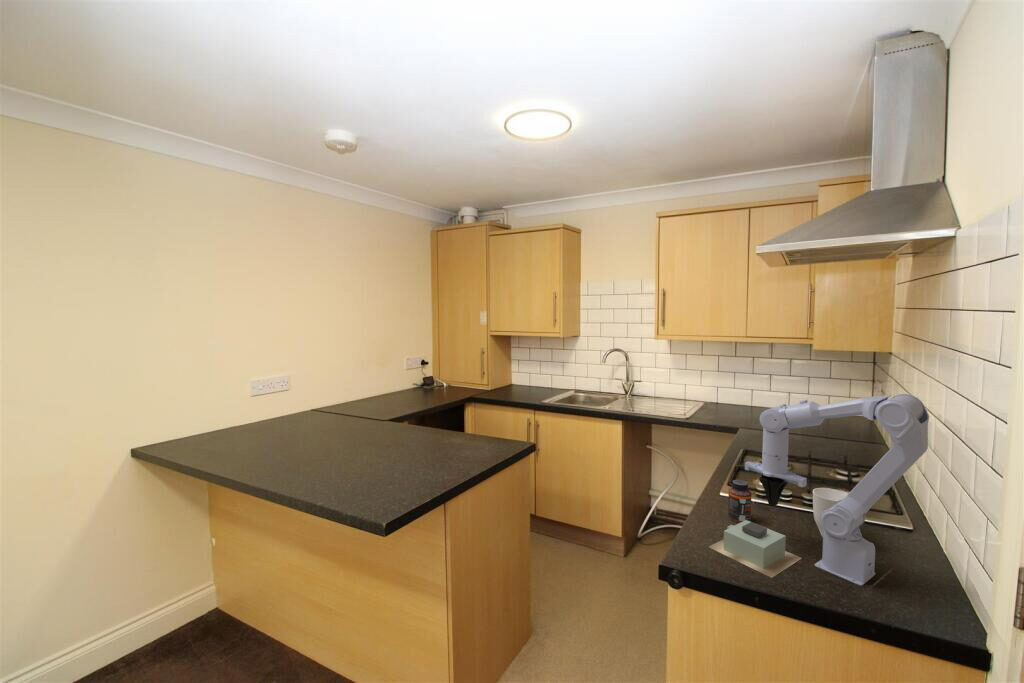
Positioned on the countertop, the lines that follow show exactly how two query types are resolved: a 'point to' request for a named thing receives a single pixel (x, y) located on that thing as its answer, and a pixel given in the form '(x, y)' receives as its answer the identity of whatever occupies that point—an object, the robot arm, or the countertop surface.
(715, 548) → the board
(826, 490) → the mug
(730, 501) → the supplement bottle
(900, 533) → the countertop surface
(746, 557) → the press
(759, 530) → the grey square plunger
